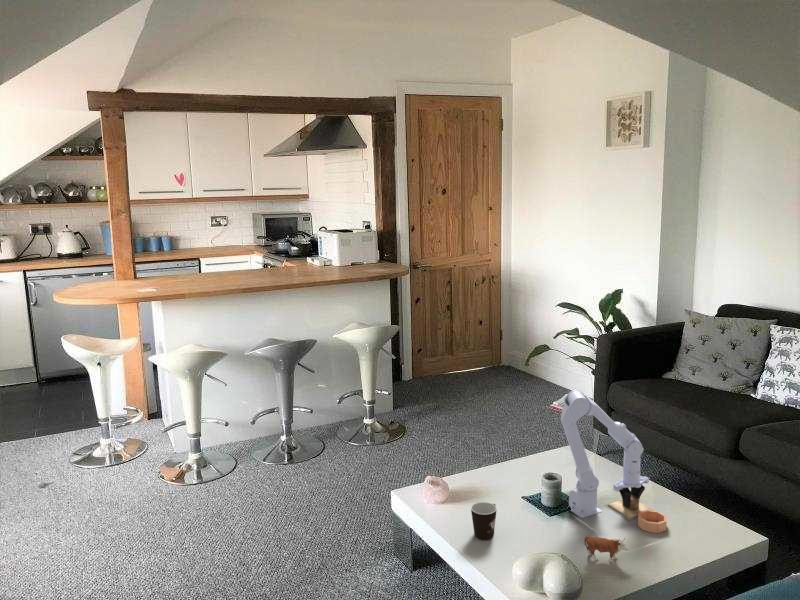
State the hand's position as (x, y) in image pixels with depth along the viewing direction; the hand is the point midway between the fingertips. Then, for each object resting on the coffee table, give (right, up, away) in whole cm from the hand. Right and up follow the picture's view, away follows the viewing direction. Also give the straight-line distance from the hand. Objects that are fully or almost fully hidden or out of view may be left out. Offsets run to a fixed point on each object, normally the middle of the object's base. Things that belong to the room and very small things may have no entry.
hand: (630, 505), depth 241 cm
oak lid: (0, -1, 0) cm, 1 cm away
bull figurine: (-18, -8, -30) cm, 36 cm away
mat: (0, -2, 0) cm, 2 cm away
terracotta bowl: (+3, -4, -12) cm, 13 cm away
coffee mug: (-53, -6, -13) cm, 55 cm away
